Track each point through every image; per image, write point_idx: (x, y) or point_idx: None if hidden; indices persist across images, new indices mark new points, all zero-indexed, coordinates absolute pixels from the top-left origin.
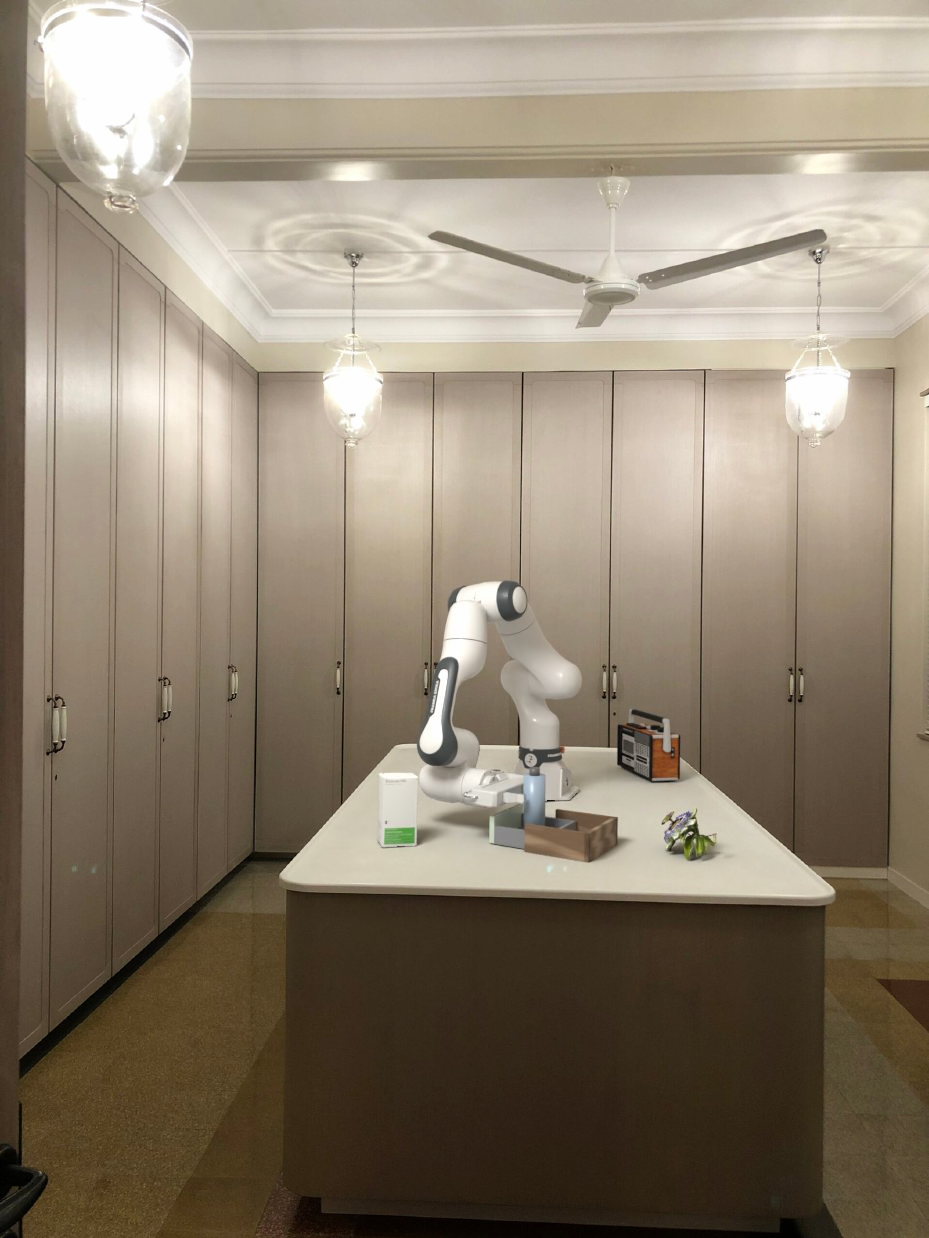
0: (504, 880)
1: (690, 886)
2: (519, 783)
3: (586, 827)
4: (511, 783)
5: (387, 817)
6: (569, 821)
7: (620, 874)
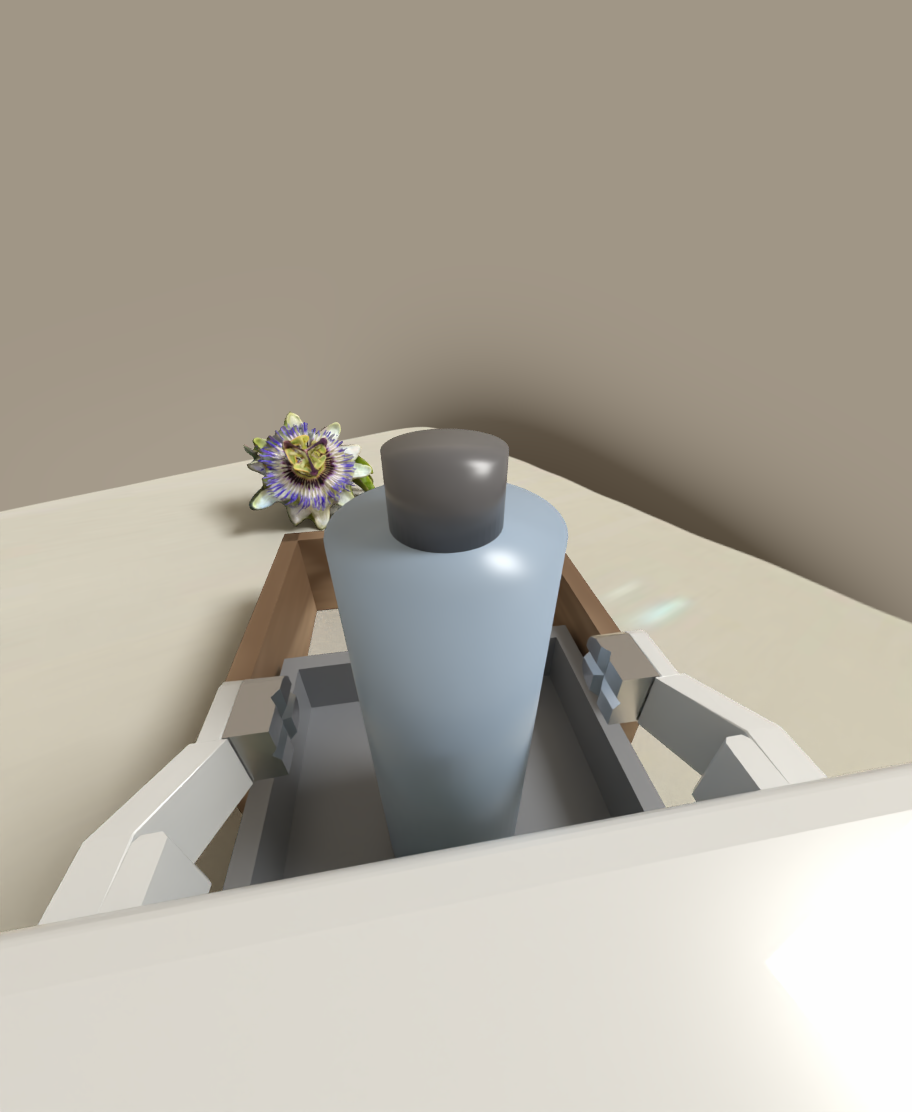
0: (862, 634)
1: (507, 471)
2: (341, 875)
3: (290, 644)
4: (465, 979)
5: None
6: (296, 682)
7: None
